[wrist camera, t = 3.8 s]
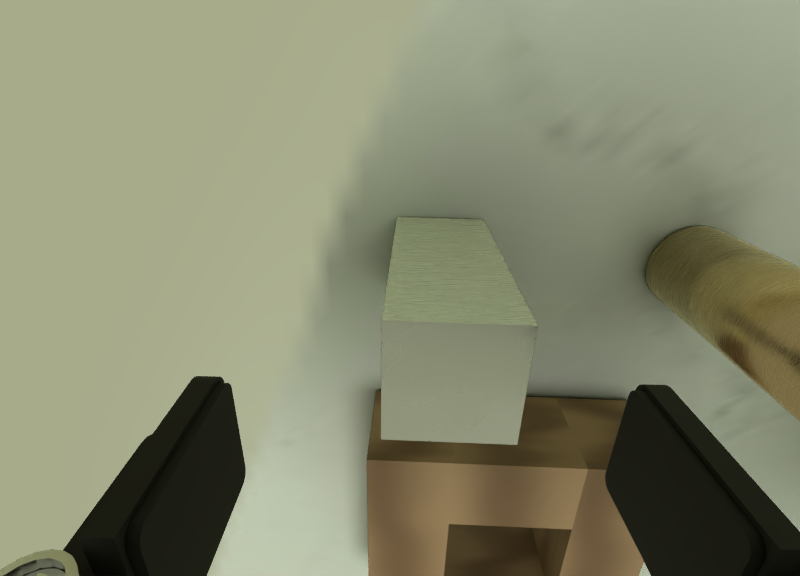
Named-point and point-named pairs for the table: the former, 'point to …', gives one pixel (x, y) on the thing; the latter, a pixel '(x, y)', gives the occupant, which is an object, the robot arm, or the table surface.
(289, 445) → the table surface
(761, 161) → the table surface
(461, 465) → the socket block
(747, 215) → the table surface
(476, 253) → the square peg
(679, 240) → the round peg
